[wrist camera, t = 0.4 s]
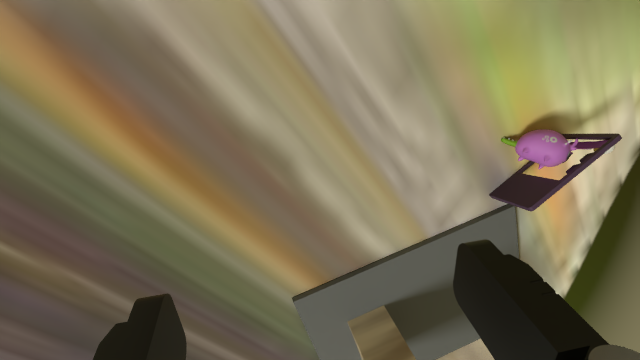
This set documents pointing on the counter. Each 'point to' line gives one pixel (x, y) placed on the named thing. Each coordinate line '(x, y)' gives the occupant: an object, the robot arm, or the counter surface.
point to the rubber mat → (405, 293)
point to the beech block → (379, 337)
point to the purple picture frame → (548, 164)
